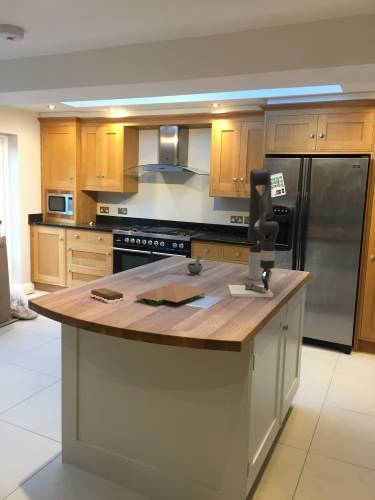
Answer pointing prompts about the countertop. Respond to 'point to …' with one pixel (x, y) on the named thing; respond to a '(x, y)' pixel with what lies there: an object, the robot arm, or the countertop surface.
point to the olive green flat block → (107, 294)
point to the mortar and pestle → (195, 267)
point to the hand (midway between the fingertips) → (266, 290)
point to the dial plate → (247, 292)
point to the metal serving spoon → (254, 287)
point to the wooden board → (171, 293)
